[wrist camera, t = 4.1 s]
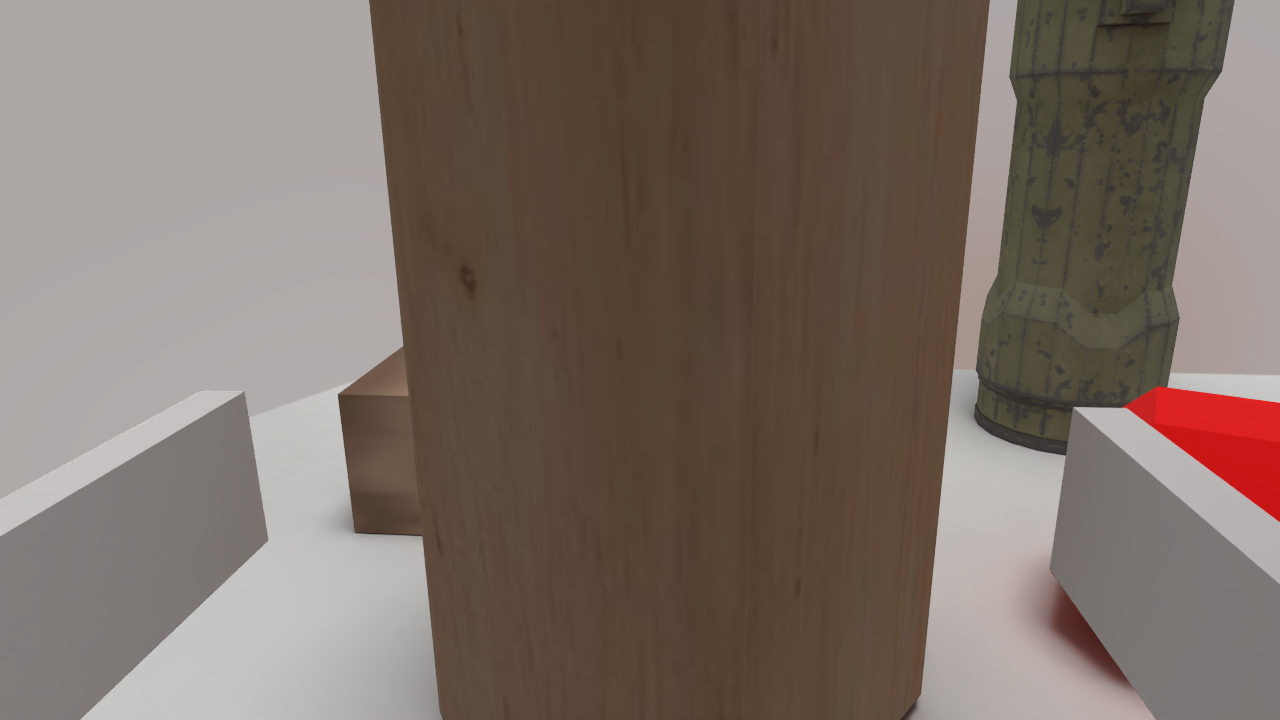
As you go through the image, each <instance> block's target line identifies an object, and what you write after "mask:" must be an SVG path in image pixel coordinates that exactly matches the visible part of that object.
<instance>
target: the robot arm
mask: <svg viewBox="0 0 1280 720" xmlns="http://www.w3.org/2000/svg"><path fill="white" fill-rule="evenodd" d="M267 541H268V536H267V529H266V523H265V517H264V510H263V504H262V498H261V492H260V485H259V479H258V473H257V466H256V460H255V454H254V448H253V441H252V435H251V429H250V423H249V416H248V410H247V404H246V397H245V392H244V391H199V392H197V393H195V394H193V395H192V396H190V397H188V398H186V399H184V400H182V401H181V402H179V403H177V404H176V405H173V406H171V407H169V408H168V409H166V410H164V411H162V412H160V413H159V414H157V415H155V416H153V417H151V418H149V419H147V420H146V421H144V422H142V423H140V424H139V425H136V426H134V427H133V428H131V429H129V430H127V431H125V432H123V433H122V434H120V435H118V436H116V437H114V438H112V439H110V440H109V441H107V442H105V443H103V444H101V445H99V446H98V447H96V448H94V449H92V450H90V451H88V452H87V453H85V454H83V455H81V456H79V457H77V458H75V459H74V460H72V461H70V462H68V463H66V464H64V465H62V466H61V467H59V468H57V469H55V470H53V471H52V472H50V473H48V474H46V475H44V476H42V477H40V478H38V479H37V480H35V481H33V482H31V483H29V484H28V485H26V486H24V487H22V488H20V489H18V490H16V491H15V492H13V493H11V494H9V495H7V496H5V497H3V498H2V499H0V720H80V719H81V718H82V717H83V716H84V715H85V714H86V713H87V712H89V711H90V710H91V709H92V708H93V707H94V706H95V705H96V704H97V703H98V702H99V701H100V700H101V699H102V698H103V697H104V696H105V695H106V694H107V693H108V692H110V691H111V690H112V689H113V688H114V687H115V686H116V685H117V684H118V683H119V682H120V681H121V680H122V679H123V678H124V677H125V676H126V675H127V674H128V673H130V672H131V671H132V670H133V669H134V668H135V667H136V666H137V665H138V664H139V663H140V662H141V661H142V660H143V659H144V658H145V657H146V656H147V655H148V654H149V653H151V652H152V651H153V650H154V649H155V648H156V647H157V646H158V645H159V644H160V643H161V642H162V641H163V640H164V639H165V638H166V637H167V636H168V635H169V634H170V633H172V632H173V631H174V630H175V629H176V628H177V627H178V626H179V625H180V624H181V623H182V622H183V621H184V620H185V619H186V618H187V617H188V616H189V615H190V614H191V613H193V612H194V611H195V610H196V609H197V608H198V607H199V606H200V605H201V604H202V603H203V602H204V601H205V600H206V599H207V598H208V597H209V596H210V595H211V594H213V593H214V592H215V591H216V590H217V589H218V588H219V587H220V586H221V585H222V584H223V583H224V582H225V581H226V580H227V579H228V578H229V577H230V576H231V575H232V574H234V573H235V572H236V571H237V570H238V569H239V568H240V567H241V566H242V565H243V564H244V563H245V562H246V561H247V560H248V559H249V558H250V557H251V556H252V555H253V554H255V553H256V552H257V551H258V550H259V549H260V548H261V547H262V546H263V545H264V544H265V543H266V542H267ZM1050 570H1051V572H1052V573H1053V575H1054V576H1055V577H1056V579H1057V580H1058V582H1059V583H1060V585H1061V586H1062V587H1063V589H1064V590H1065V592H1066V593H1067V594H1068V596H1069V597H1070V599H1071V600H1072V602H1073V603H1074V604H1075V606H1076V607H1077V609H1078V610H1079V611H1080V613H1081V614H1082V616H1083V617H1084V619H1085V620H1086V621H1087V623H1088V624H1089V626H1090V627H1091V628H1092V630H1093V631H1094V633H1095V634H1096V635H1097V637H1098V638H1099V640H1100V641H1101V643H1102V644H1103V645H1104V647H1105V648H1106V650H1107V651H1108V652H1109V654H1110V655H1111V657H1112V658H1113V660H1114V661H1115V662H1116V664H1117V665H1118V667H1119V668H1120V669H1121V671H1122V672H1123V674H1124V675H1125V677H1126V678H1127V679H1128V681H1129V682H1130V684H1131V685H1132V686H1133V688H1134V689H1135V691H1136V692H1137V694H1138V695H1139V696H1140V698H1141V699H1142V701H1143V702H1144V703H1145V705H1146V706H1147V708H1148V709H1149V710H1150V712H1151V713H1152V715H1153V716H1154V718H1155V719H1156V720H1280V522H1279V521H1277V520H1276V519H1275V518H1273V517H1272V516H1271V515H1269V514H1268V513H1267V512H1265V511H1264V510H1263V509H1261V508H1260V507H1259V506H1257V505H1256V504H1255V503H1253V502H1252V501H1250V500H1249V499H1248V498H1246V497H1245V496H1244V495H1242V494H1241V493H1240V492H1238V491H1237V490H1236V489H1234V488H1233V487H1232V486H1230V485H1229V484H1228V483H1226V482H1225V481H1224V480H1222V479H1221V478H1220V477H1218V476H1217V475H1216V474H1214V473H1213V472H1212V471H1210V470H1209V469H1208V468H1206V467H1205V466H1204V465H1202V464H1201V463H1200V462H1198V461H1197V460H1196V459H1194V458H1193V457H1191V456H1190V455H1189V454H1187V453H1186V452H1185V451H1183V450H1182V449H1181V448H1179V447H1178V446H1177V445H1175V444H1174V443H1173V442H1171V441H1170V440H1169V439H1167V438H1166V437H1165V436H1163V435H1162V434H1161V433H1159V432H1158V431H1157V430H1155V429H1154V428H1153V427H1151V426H1150V425H1149V424H1147V423H1146V422H1145V421H1143V420H1142V419H1141V418H1139V417H1138V416H1137V415H1135V414H1134V413H1132V412H1131V411H1130V410H1128V409H1127V408H1094V407H1073V411H1072V418H1071V425H1070V432H1069V439H1068V446H1067V453H1066V460H1065V467H1064V473H1063V480H1062V487H1061V494H1060V501H1059V508H1058V515H1057V522H1056V529H1055V536H1054V542H1053V549H1052V556H1051V563H1050Z"/></svg>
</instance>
